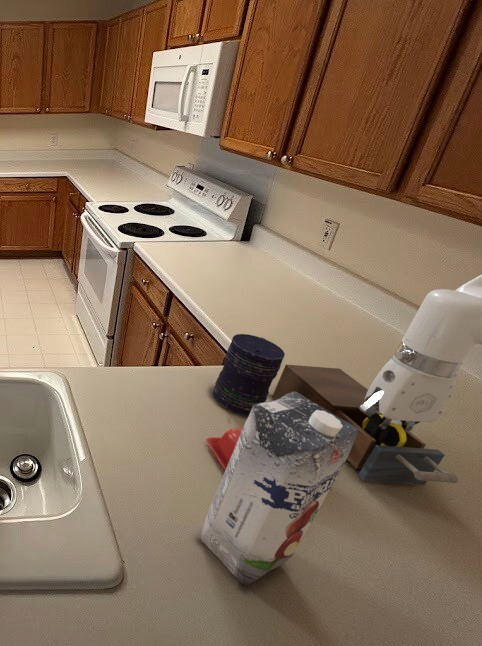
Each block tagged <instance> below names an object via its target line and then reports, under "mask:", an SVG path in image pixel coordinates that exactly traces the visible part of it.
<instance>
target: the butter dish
mask: <svg viewBox="0 0 482 646" xmlns="http://www.w3.org/2000/svg"><path fill="white" fill-rule="evenodd" d="M242 430H243V427H239V428H238V427H236V428H230V429H228V430H226V431H225V432H224V433H223V435H222V436H221V437H219V436H218V437H217V436H215V437H207V438H206V440H205V441H206V443H207V444H208V446H209V448H210V449H211V451H212V453H213V454H214V457H216V459H217V460H218V462H219V463H220V465H221V466H222V469H223V470H224V471H225V470H226V468H227V465H228V463H229V461H230V458H231V456H232V453H233V451H234V449H235V446H236V444H237V441H238V439H239V437H240V434H241V432H242Z"/></svg>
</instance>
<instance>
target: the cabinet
mask: <svg viewBox="0 0 482 646" xmlns="http://www.w3.org/2000/svg"><path fill="white" fill-rule="evenodd" d="M368 390H369V388H367V387H365V386H364V385H363V384H361V383H360V382H359V381H358V380H356V379H355V378H353V377H352V376H350V375H349V374H348V373H346V372H345V371H344V370H343V369H341V368H336V367H325V366H324V367H322V366H311V365H295V364H285V366H284V368H283V370H282V372H281V375H280V377H279V380H278V381H277V383H276V387H275V388H274V391H273V394H271V395H272V396H271V398H273V399H274V401H275V400H278V399H280V398H282V397H283V396H285V395H287V394H288V393H290V392H293V391H295V392H297V393H299V394H301V395H302V396H304V397H305V398H307V399H309V400H310V401H312V402H314V403H315V404H317V405H319V406H321V407H322V408H324V409H326V410H327V411H329V412H331V413H332V414H333V413H334V411H335V409H343V410H356V411H360V410H359V407H360V406H361V405H362V404H363V403H365V396H366V394H367V392H368Z"/></svg>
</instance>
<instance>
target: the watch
mask: <svg viewBox="0 0 482 646" xmlns="http://www.w3.org/2000/svg"><path fill="white" fill-rule="evenodd" d="M380 416H381V418H383V417H384V416H383V415H380ZM369 420H370V419H368V417H367V418H366V419H365V420H364V421H363V424H362V429H363V430H364V429H365V427H366V425H367V423H368V422H369ZM389 425H390V426H393V427H395V428H396V430H397V431H398V433H399V439H400V441H399V442H398V444H397V446H394V447H402V446H404V444H405V442H406V440H407V439H406V433H405V431H404V429H403V428H402V426H401V425H402V422H401V421H400V420H392V421H391V422H390V424H389ZM380 446H386V445H385V444H383V443H381V445H380Z"/></svg>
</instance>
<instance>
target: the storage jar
mask: <svg viewBox="0 0 482 646" xmlns="http://www.w3.org/2000/svg"><path fill="white" fill-rule="evenodd" d="M285 355H286V353H285V351H284V350H283V349H282V348H281V347H280V346H279V345H277V344H276V343H274V342H272V341H270V340H268V339H266V338H264V337H260V336H256V335H252V334H246V333H238V334H235V335H233V336H232V339H231V342H230V344H229V346H228V348H227V351H226V354H225V357H224V361H225V362H224V364H223V367H222V369H221V371H220V372H219V374H218V377H217V378H216V381H215V385H214V389H213V390H212V397H213V399H214V400H215V402H216V403H217V404H218V405H220V406H221V407H222V408H224V409H225V410H227V411H229V412H231V413H233V414H235V415H239V416H242V417H247V418H248V417H249V414H250V412H251V410H252V407H253V405H255V404H258V403H263V402H267V400H268V399H267V398H268V396H269V394H270V393H269V390H270V387H271V386H272V383H273V381H274V380H275V378H276V377H277V376H278V372H279V371H280V369H281V366H282V362H283V360H284V358H285Z"/></svg>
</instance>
